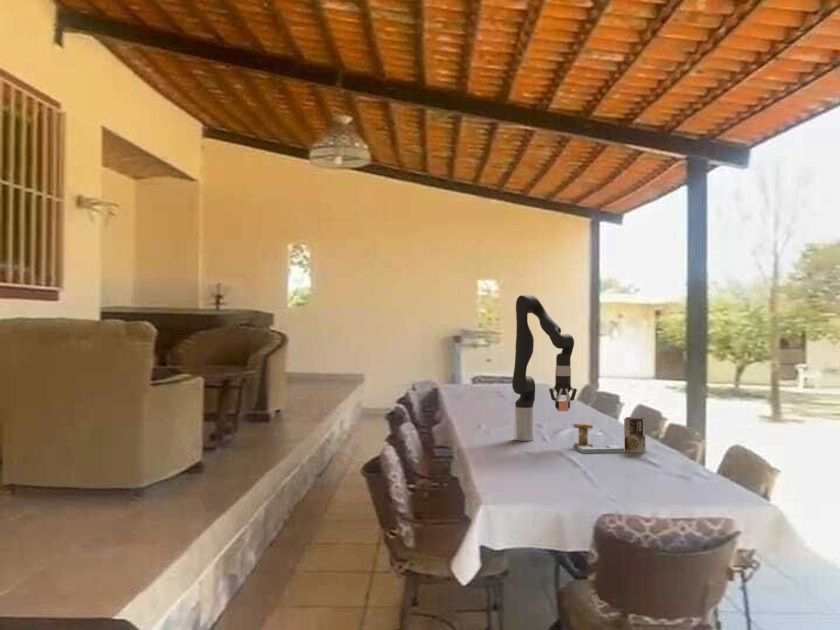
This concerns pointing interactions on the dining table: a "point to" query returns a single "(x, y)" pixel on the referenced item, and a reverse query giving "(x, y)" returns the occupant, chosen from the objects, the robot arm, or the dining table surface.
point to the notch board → (601, 449)
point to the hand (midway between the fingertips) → (562, 408)
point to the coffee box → (634, 434)
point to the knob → (583, 434)
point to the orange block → (563, 405)
